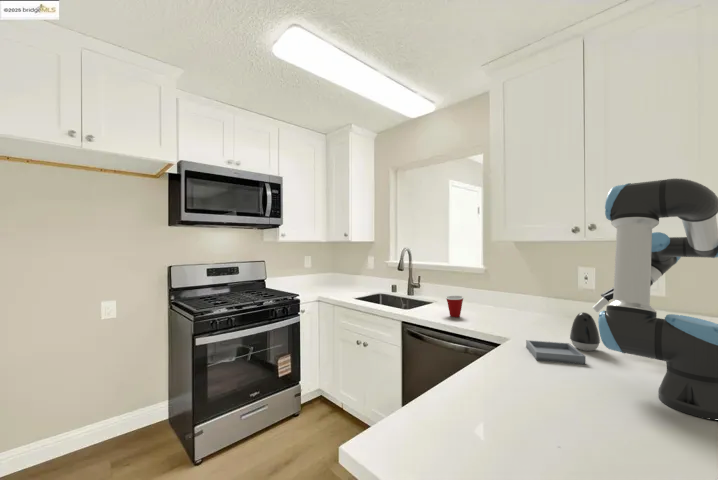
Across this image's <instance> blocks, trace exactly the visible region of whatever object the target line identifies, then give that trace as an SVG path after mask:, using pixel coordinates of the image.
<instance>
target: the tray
mask: <svg viewBox="0 0 718 480" xmlns="http://www.w3.org/2000/svg"><path fill="white" fill-rule="evenodd" d="M525 342H526V343H525V348H526V349H527V350H528V351H529V353H530V354H531V355H532V357H533V358H534V359H535V361H540V362H541V361H543V362H551V363H562V362H563V363H562V364H573V363H574V364H575V365H586V362H587V361H586V360H587V359H586V355H584V353H582V352H581V350H579V349H578V348H576V347H575V346H574V345H573V344H572V343H567V342H557V341H556V342H555V341H554V342H553V341H546V340H545V341H542V340H528V339H526V340H525Z"/></svg>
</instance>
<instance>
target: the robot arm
mask: <svg viewBox="0 0 718 480" xmlns="http://www.w3.org/2000/svg"><path fill="white" fill-rule="evenodd" d="M604 210H605V211H604V214H605V218H606V220H607V221H611V222H610V224H611V226H613V227H614V228H616V234H615V235H616V236H615V239H616V240H615V256H614V276H613V277H614V279H613V287H611V288H609V289H608V290H606V291H604V292H602V293H601V294H600V296H601V297H602V298H600V299H599V300H598V302H597V303H595V304H594V305H593V306H592V307H591V308H592V310H594V311H595V312H596V313H599V314H598V321H597V323H598V332H599V337H600V341H601V342H602V344H603V345H604V346H605V348H607V350H611V351H615V352H619V353H621V354H629V355H633V356H637V357H638V356H639V357H643V358H647V359H651V360H657V361H658V360H659V361H663V362H665V363H666V372H665V375H664V377H663V379H662V381H661V384H660V386H659V387H658V394H657V395H658V399H659V400H660V401H661V402H662V403H663V404H664V405H666V406H668V407H670V408H671V409H674V410H676V411H679V412H681V413H684V414H687V415H691V416H694V417H697V416H698V417H697V418H701V417H703V418H702V419H705V418H710V419H718V323H715V322H712V321H711V320H706V319H701V318H698V317H693V316H687V315H682V314H681V315H679V314H673V313H671V314H670V313H669V314H668V313H667V314H666V315H665V317H664V318H659V317H657V311H656V310H655V309H654V308H653V307H652V305H651V303H650V302H651V287H652V286H653V285H654V283H656V282H657V281H658V280H659V279H660V278H661V277H662V276H663V275H664V274H665V273H666V272H668V271H669V270H670V269H671V268H672V267H673V266H675V265H676V264H677V263H678V261H679V260H681V258H712V259H715V258H718V221H717V215H718V195H716V193H715V192H714V191H713V190H712V189H710V188H709V187H708V186H706V185H703V184H702V183H699V182H697V181H694V180H691V179H685V178H668V179H659V180H652V181H651V180H649V181H643V182H632V183H625V184H620V185H619V184H618V185H615V186H612V187H611V188H610V190H609V191H608V193H607V196H606V198H605V202H604ZM660 218H662V219H663V218H664V219H665V218H678V219H680V220H681V222H682V225H683V229H684V232H685V235H686V236H674V237H673V236H672V237H671V236H669V235H668V234H667V233H664V232H659V231H656V232H653V229H655V227H657V226H658V225H659V224H660ZM611 300H612V301H611ZM610 301H611V302H610ZM605 306H606V310H603V311H601V310H602V309H603V308H604V307H605ZM710 419H709V420H710Z"/></svg>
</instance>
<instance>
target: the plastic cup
mask: <svg viewBox="0 0 718 480" xmlns="http://www.w3.org/2000/svg"><path fill="white" fill-rule="evenodd" d="M464 298H465V297H464V296H462V295H448V296H445V299H446V302H447V307H448V312H449V316H450V317H452V318H459V317H461V312H462V307H463V301H464Z"/></svg>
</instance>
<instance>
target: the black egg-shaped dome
mask: <svg viewBox="0 0 718 480" xmlns="http://www.w3.org/2000/svg"><path fill="white" fill-rule="evenodd" d="M569 333H570V334H569V339H570V342H571V345H572V346H573V347H574V348H576V349H577V350H579V351H585V352H592V351H593V352H594V351H595V350H597V349H598V347H599V344H600V343H601V337H600V332H599V328H598V327H597V324H596V320H595V319H594V318H593V316H592V315H591V314H589V313H587V312H579V313H578V314H577V315H575V317H574V320H573V322H572V325H571V329H570V332H569Z"/></svg>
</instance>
